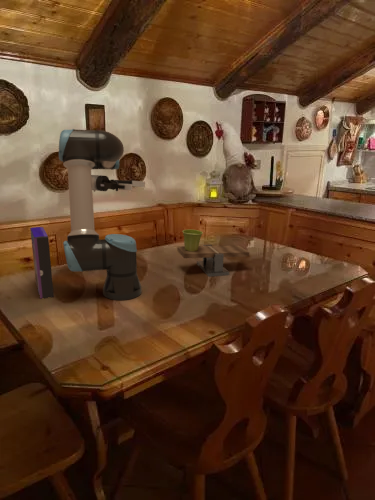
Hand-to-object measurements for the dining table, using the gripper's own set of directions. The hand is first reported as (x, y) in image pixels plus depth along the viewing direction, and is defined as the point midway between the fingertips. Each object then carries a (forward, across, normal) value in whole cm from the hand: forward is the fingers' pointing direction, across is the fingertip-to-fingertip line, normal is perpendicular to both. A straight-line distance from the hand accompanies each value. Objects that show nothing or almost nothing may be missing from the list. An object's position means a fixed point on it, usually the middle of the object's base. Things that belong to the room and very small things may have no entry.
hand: (138, 185), depth 169 cm
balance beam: (+37, -4, -30) cm, 48 cm away
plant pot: (+28, +2, -28) cm, 39 cm away
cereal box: (-20, +46, -38) cm, 63 cm away
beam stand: (+37, -4, -38) cm, 53 cm away
